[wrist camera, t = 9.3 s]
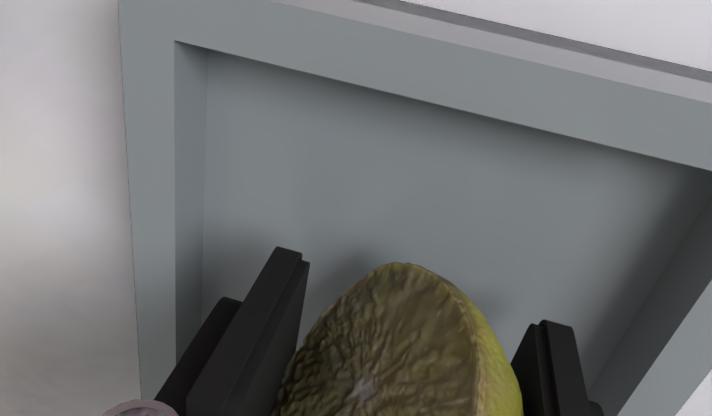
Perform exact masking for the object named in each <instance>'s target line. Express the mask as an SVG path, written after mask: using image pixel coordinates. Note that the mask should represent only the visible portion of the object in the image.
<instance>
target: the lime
mask: <svg viewBox="0 0 712 416" xmlns="http://www.w3.org/2000/svg"><path fill="white" fill-rule="evenodd" d="M270 416H524V411H523V404H522V395H521V391H520V388H519V384H518V381H517V378H516V376H515V374H514V371H513V369H512V367H511V365H510V363H509V361H508V359H507V357H506V355H505V353H504V351H503V349H502V347H501V345H500V343H499V341H498V339H497V337H496V336H495V334H494V332H493V330H492V329H491V327H490V325H489V324H488V322H487V320H486V319H485V317H484V316H483V314H482V313H481V311H480V310H479V309H478V308H477V307H476V306H475V305H474V303H473V302H472V301H471V300H470V299H469V298H468V297H467V296H466V295H465V293H463V292H462V291H461V290H460V289H459V288H458V287H457V286H455V285H454V284H453V283H452V282H451V281H449V280H447V279H445V278H443V277H441V276H440V275H438V274H436V273H434V272H432V271H430V270H428V269H426V268H424V267H423V266H420V265H416V264H411V263H409V262H406V263H404V264H402V263H399V262H392V263H388V264H385V265H381V266H379V267H377V268H375V269H373V270H371V271H370V272H369V273H368V274H366V275H365V276H363V277H362V278H360V279H358V280H357V281H356V282H354V283H353V284H351V285H350V286H349V287H347V288H346V289H345V290H344V291H343V292H342V293H341V294H340V295H339V296H338V297H337V298H336V299H335V300H334V302H333V303H332V304H331V305H329V306H328V307H327V308H326V309H325V310H324V311H323V312H322V313H321V314H320V316H319V317H318V319H317V321H316V322H315V323H314V324H313V326H312V328H311V330H310V332H309V333H308V334H307V335H306V336H305V339H304V340H303V346H301V347H300V349H299V350H298V351H295V352H294V354H293V355H292V357H291V358H290V360H289V362H288V365H287V368H286V371H285V374H284V377H283V379H282V383H281V388H280V389H279V392H278V395H277V398H276V403H275V404H274V407H273V410H272V412H271V415H270Z"/></svg>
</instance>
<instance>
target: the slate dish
mask: <svg viewBox="0 0 712 416" xmlns="http://www.w3.org/2000/svg"><path fill="white" fill-rule="evenodd" d="M118 13H119V30H120V46H121V63H122V80H123V97H124V114H125V131H126V148H127V165H128V182H129V198H130V215H131V232H132V249H133V266H134V283H135V300H136V317H137V334H138V351H139V367H140V384H141V400H143V399H150V400H154V398H155V397H156V395H157V394H158V392H159V391H160V389H161V388H162V386H163V385H164V383H165V382H166V380H167V378H168V377H169V375H170V374H171V372H172V371H173V369H174V368H175V366H176V365H177V363H178V362H179V360H180V359H181V357H182V356H183V354H184V353H185V351H186V349H187V348H188V346H189V345H190V343H191V342H192V340H193V339H194V337H195V336H196V334H197V333H198V331H199V330H200V328H201V327H202V325H203V324H204V322H205V320H206V319H207V317H208V316H209V314H210V313H211V311H212V310H213V308H214V307H215V305H216V304H217V302H218V301H219V300H220V299H221V298H222V297H228V298H231V299H235V300H238V301H242V302H243V301H244V299H245V298H246V296H247V294H248V293H249V291H250V289H251V288H252V286H253V284H254V282H255V281H256V279H257V277H258V276H259V274H260V272H261V271H262V269H263V267H264V266H265V264H266V262H267V261H268V259H269V257H270V255H271V254H272V252H273V250H274V249H275V248H276V247H277V246H279V247H282V248H286V249H290V250H293V251H297V252H301V253H302V260H304V261H307V262H310V268H309V274H308V280H307V286H306V292H305V298H304V304H303V310H302V316H301V322H300V328H299V334H298V340H297V346H296V351H298V350H299V349H300V347H301V346H303V340H304V339H305V336H306V335H307V334H308V333H309V332H310V330H311V328H312V326H313V324H314V323H315V322H316V321H317V319H318V317H319V316H320V314H321V313H322V312H323V311H324V310H325V309H326V308H327V307H328V306H329V305H331V304H332V303H333V302H334V300H335V299H336V298H337V297H338V296H339V295H340V294H341V293H342V292H343V291H344V290H345V289H346V288H347V287H349V286H350V285H351V284H353V283H354V282H356V281H357V280H358V279H360V278H362V277H363V276H365V275H366V274H368V273H369V272H370V271H371V270H373V269H375V268H377V267H379V266H381V265H385V264H388V263H392V262H399V263H402V264H404V263H406V262H409V263H411V264H416V265H420V266H423V267H424V268H426V269H428V270H430V271H432V272H434V273H436V274H438V275H440V276H441V277H443V278H445V279H447V280H449V281H451V282H452V283H453V284H454V285H455V286H457V287H458V288H459V289H460V290H461V291H462V292H463V293H465V295H466V296H467V297H468V298H469V299H470V300H471V301H472V302H473V303H474V305H475V306H476V307H477V308H478V309H479V310H480V311H481V313H482V314H483V316H484V317H485V319H486V320H487V322H488V324H489V325H490V327H491V329H492V330H493V332H494V334H495V336H496V337H497V339H498V341H499V343H500V345H501V347H502V349H503V351H504V353H505V355H506V357H507V359H508V361H509V363H511V361H512V359H513V357H514V355H515V353H516V351H517V349H518V347H519V345H520V343H521V341H522V339H523V336H524V334H525V332H526V330H527V328H528V327H529V325H530V324H532V323H533V324H536V325H538V324H539V323H540V321H541V320H543V319H545V320H549V321H552V322H556V323H560V324H563V325H567V326H571V327H572V328H573V331H574V334H575V339H576V344H577V349H578V354H579V358H580V363H581V368H582V373H583V378H584V383H585V387H586V392H587V397H588V400H590V401H593V402H597V403H598V404H599V405H600V406H601V407H602V410H603V413H604V416H675V415H676V414H677V413H678V411H679V410H680V409H681V407H682V406H683V405H684V404H685V402H686V401H687V400H688V399H689V397H690V396H691V395H692V394H693V392H694V391H695V390H696V388H697V387H698V386H699V385H700V383H701V382H702V381H703V380H704V378H705V377H706V376H707V374H708V373H709V372H710V371H711V369H712V72H710V71H706V70H702V69H697V68H693V67H688V66H684V65H680V64H675V63H671V62H667V61H662V60H658V59H654V58H649V57H645V56H640V55H636V54H632V53H627V52H623V51H619V50H614V49H610V48H605V47H601V46H597V45H592V44H588V43H584V42H579V41H575V40H571V39H566V38H562V37H557V36H553V35H549V34H544V33H540V32H536V31H531V30H527V29H523V28H518V27H514V26H509V25H505V24H501V23H496V22H492V21H488V20H483V19H479V18H475V17H470V16H466V15H461V14H457V13H453V12H448V11H444V10H440V9H435V8H431V7H427V6H422V5H418V4H413V3H409V2H405V1H400V0H118Z"/></svg>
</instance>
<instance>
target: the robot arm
mask: <svg viewBox="0 0 712 416" xmlns="http://www.w3.org/2000/svg"><path fill="white" fill-rule="evenodd" d="M309 268H310V262H307V261H304V260H302V253H301V252H297V251H293V250H290V249H286V248H282V247H279V246H277V247H276V248H275V249H274V250H273V252H272V254H271V255H270V257H269V259H268V261H267V262H266V264H265V266H264V267H263V269H262V271H261V272H260V274H259V276H258V277H257V279H256V281H255V282H254V284H253V286H252V288H251V289H250V291H249V293H248V294H247V296H246V298H245V299H244V301H243V302H242V301H238V300H235V299H231V298H228V297H222V298H221V299H220V300H219V301H218V302H217V304H216V305H215V307H214V308H213V310H212V311H211V313H210V314H209V316H208V317H207V319H206V320H205V322H204V324H203V325H202V327H201V328H200V330H199V331H198V333H197V334H196V336H195V337H194V339H193V340H192V342H191V343H190V345H189V346H188V348H187V349H186V351H185V353H184V354H183V356H182V357H181V359H180V360H179V362H178V363H177V365H176V366H175V368H174V369H173V371H172V372H171V374H170V375H169V377H168V378H167V380H166V382H165V383H164V385H163V386H162V388H161V389H160V391H159V392H158V394H157V395H156V397H155V398H154V400H150V399H143V400H132V401H129V402H126V403H122V404H119V405H117V406H116V407H114V408H112V409H110V410H108V411H107V412H105V413H104V414H103V415H102V416H270V415H271V412H272V410H273V407H274V404H275V403H276V398H277V395H278V392H279V389H280V388H281V383H282V379H283V377H284V374H285V371H286V368H287V365H288V362H289V360H290V358H291V357H292V355H293V354H294V352H295V351H296V346H297V340H298V334H299V328H300V322H301V316H302V310H303V304H304V298H305V292H306V286H307V280H308V274H309ZM510 365H511V367H512V369H513V371H514V374H515V376H516V378H517V381H518V384H519V388H520V391H521V395H522V404H523V411H524V416H604V413H603V410H602V407H601V406H600V405H599V404H598V403H597V402H593V401H590V400H588V397H587V392H586V387H585V383H584V378H583V373H582V368H581V363H580V358H579V354H578V349H577V344H576V339H575V334H574V331H573V328H572V327H571V326H567V325H563V324H560V323H556V322H552V321H549V320H545V319H543V320H541V321H540V323H539V324H538V325H536V324H533V323H532V324H530V325H529V327H528V328H527V330H526V332H525V334H524V336H523V339H522V341H521V343H520V345H519V347H518V349H517V351H516V353H515V355H514V357H513V359H512V361H511V363H510Z"/></svg>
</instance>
